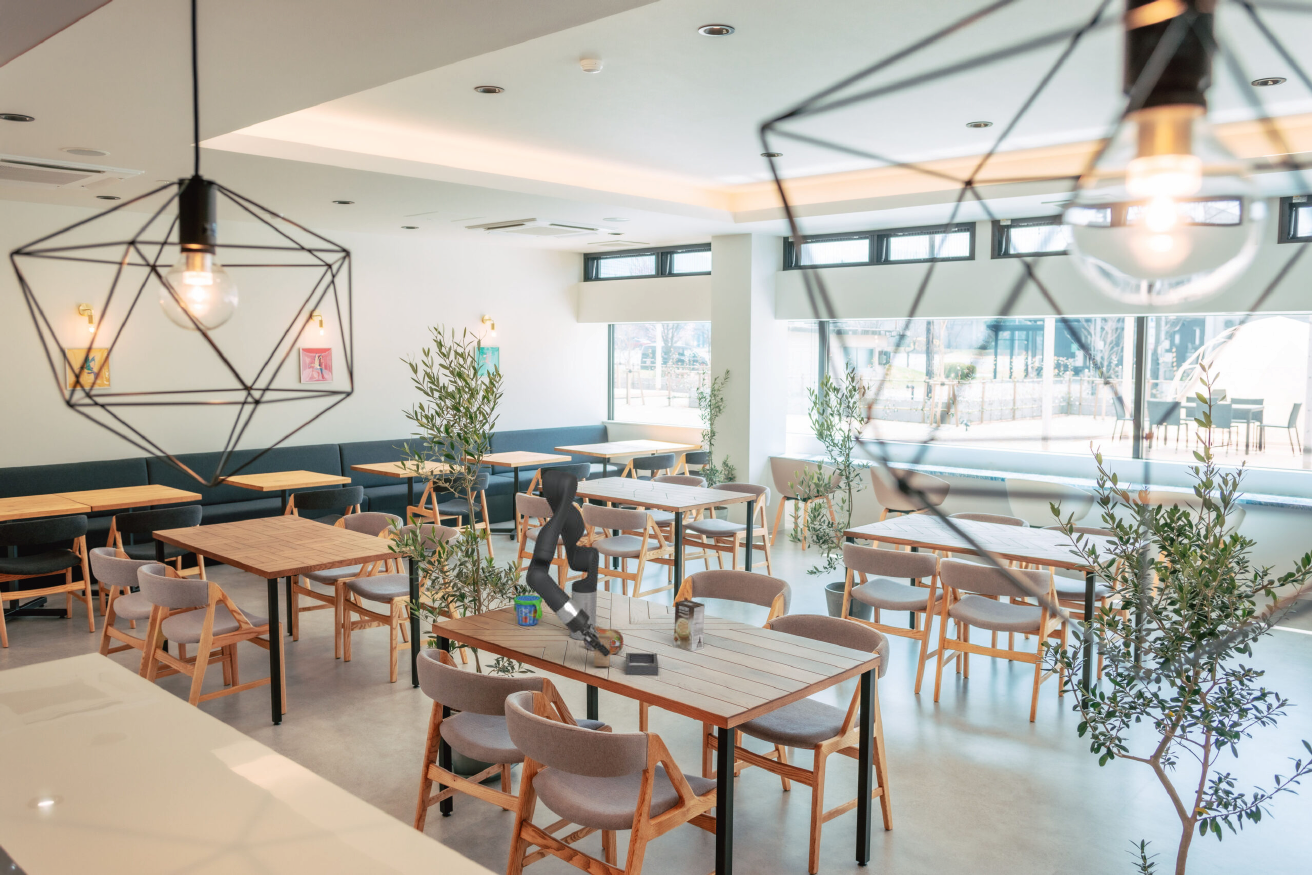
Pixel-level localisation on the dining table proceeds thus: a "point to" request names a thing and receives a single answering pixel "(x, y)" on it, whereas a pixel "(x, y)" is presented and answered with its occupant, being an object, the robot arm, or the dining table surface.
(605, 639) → the block
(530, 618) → the snack cup
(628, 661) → the dark grey tray
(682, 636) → the coffee box
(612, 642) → the tin
